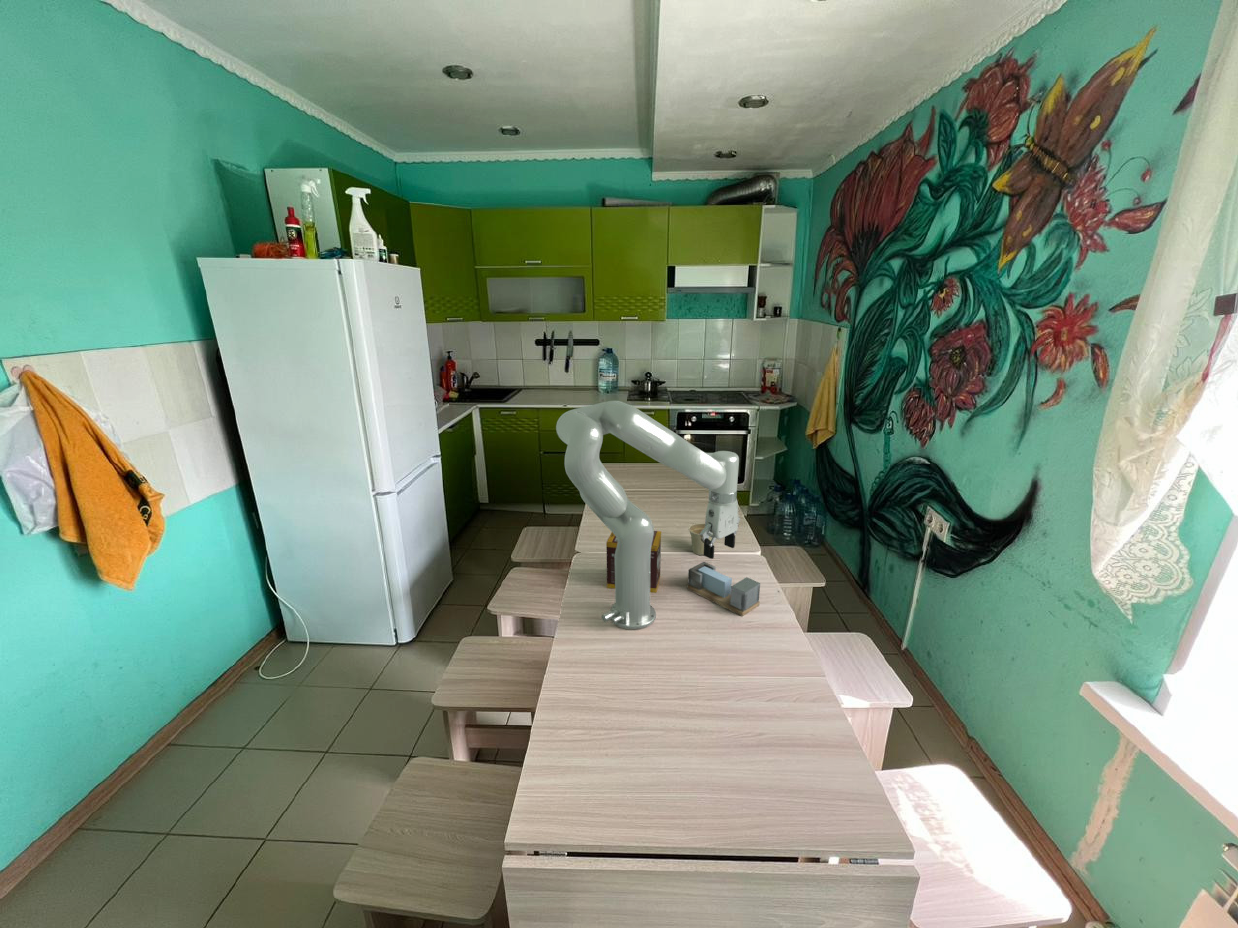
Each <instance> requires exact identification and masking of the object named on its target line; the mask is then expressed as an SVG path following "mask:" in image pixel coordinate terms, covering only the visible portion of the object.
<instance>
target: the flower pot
mask: <svg viewBox="0 0 1238 928" xmlns="http://www.w3.org/2000/svg"><path fill="white" fill-rule="evenodd" d="M704 528H705V522H704V523H702V522H700V523H699V522H698V523H694V524H691V525H689V526H688V531H689V535H690V536H691V537H690V538H691V545H692V552H693V553H694V554H695V555H698V556H704V543H703V542H702V541H701V537H700V532H701V531H702V530H703V529H704ZM712 534H713V533H712ZM711 539H712V537H709V540H710V541H711Z"/></svg>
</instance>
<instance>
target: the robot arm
mask: <svg viewBox="0 0 1238 928" xmlns="http://www.w3.org/2000/svg"><path fill="white" fill-rule="evenodd" d="M555 429H556V435H557V436H558V438H559V439H560V440H561V441H562V442H563V443H564V444H566V445H567V446H566V450H565V453H564V454H565V455H564V469H565V473H566V475H567V477H568V478H569V480H570V481H571V482H572V484H573V485H574V487H575V488H576V489H577V490H578V491H579V494H580V497H581V499H582V500H583V502H584V503H585V504H586V505H587V506H588V507H589V509H590V510H591V511H592V512H593V513H594V514H595V516H596V517H597V518H598V519H599V520H600V521H601V522H602V523H603V525H605V526H606V528H607V529H608V530H609V531H610V532H611V533H612V532H613V534H614V535H615V536H616V537H617V541H618V543H617V548H616V551H615V589H614V594H615V596H614V597H615V599H614V600H615V601H614V603H613V604H612V607H611V609H610V611H609V612H606V613H604V614H602V615H601V619H602V622H605V623H606V622H608V621H610V620H611V622H612V623H613V624H614V625H616V627H619V628H622V629H625V630H639V629H644V628H647V627H649V626H651V625H652V624H653V623H654V622H655V620H656V617H657V616H656V615H657V613H656V610H655V608H654V607H653V606H652V605H651V592H650V558H651V546H652V541H653V536H654V531H655V527H654V523H653V522H652V519H651V517H649V516H648V514H647V513H646V512H644V511H643V510H642V509H641V508H639V507H638V506H637V505H635V504H634V503H633V502H632V501H631V500H630V499H629V498H628V495H627V493H626V490H625V489H624V487H623V486H622V485H621V484H620V483H619V482H618V481H617V480H616V479H615V478H614V477H613V475H612V474H611V473H610V472H609V471H608V470H607V468H606V467H605V466H604V464H603V463H602V461H601V459H600V451H601V448H602V444H603V441H604V440H603V439H604V436H605V435H608V434H611V435H613V436H614V437H616V438H617V439H619V440H621V441H623V442H624V443H626V444H628V445H629V446H631V447H632V448H635V450H638V451H639V452H641V453H643V454H645V455H646V456H647V457H649V458H651V459H653V460H654V461H657V462H658V463H660V464H661V465H664V466H666V467H668V468H670V469H672V470H674V471H676V472H678V473H680V474H682V475H684V476H685V477H686V478H688V479H689V480H691V481H693V482H695V483H696V484H698V485H700V486H701V487H703V488H704V489H707V490H708V503H707V508H706V512H705V513H706V514H705V518H704V519H705V520H704V521H705V522H704V524H705V528H704V529H703V530H702V531H701V532H700V537H701V541H702V542H703V543H704V555H703V556H704V557H706V558H708V559H711V560H712V559H714V557H715V545H714V544H715V542H716V540H721V539H723V538H724V544H723V545H724V546H726V547H728V548H730V549H735V543H736V535H737V533H738V528H739V525H740V524H739V523H740V521H741V516H739V503H738V502H739V501H738V499H737V497H738V496H737V493H738V480H739V479H738V477H739V466H740V465H739V463H740V457H739V455H738V454H737V453H736V452H734V451H733V452H732V451H728V450H718V451H715V452H705V451H703V450H701V449H700V448H698V447H696V446H695V445H693V444H692V443H691V442H689V441H688V440H686V439H684V438H683V437H682V436H680V435H679V434H677V433H676V432H674V431H672V430H671V429H669V428H668V427H666V426H664V425H663V424H662V423H660V422H658V421H657V420H655V419H653V418H652V417H651V416H649V415H648V414H646V413H645V412H643V410H640V409H638V408H637V407H635V406H633V405H631V404H628V403H627V402H624V401H621V400H609V401H604V402H601V403H600V402H599V403H595V404H591V405H587V406H584V407H583V406H582V407H578V408H574V409H569V410H568V411H566V412H564V413H562V414H561V416H560V417H559V418H558V420H557V421H556V425H555ZM712 533H713V534H712ZM709 537H712V539H711V541H710V540H709Z"/></svg>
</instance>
